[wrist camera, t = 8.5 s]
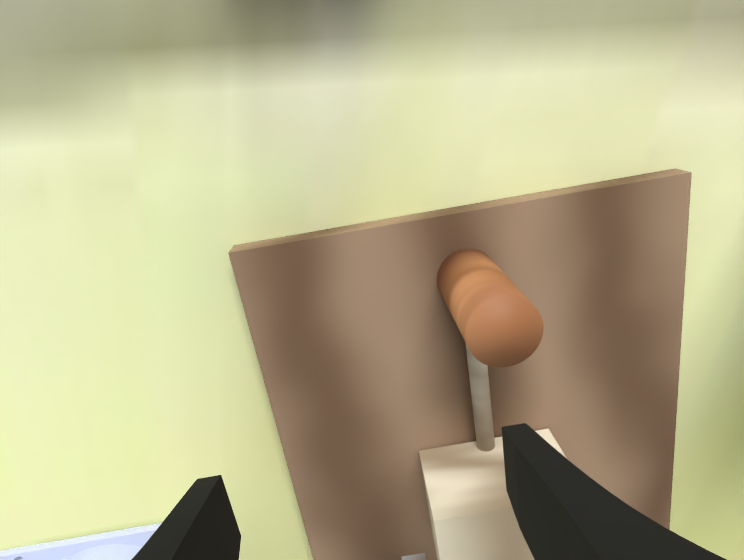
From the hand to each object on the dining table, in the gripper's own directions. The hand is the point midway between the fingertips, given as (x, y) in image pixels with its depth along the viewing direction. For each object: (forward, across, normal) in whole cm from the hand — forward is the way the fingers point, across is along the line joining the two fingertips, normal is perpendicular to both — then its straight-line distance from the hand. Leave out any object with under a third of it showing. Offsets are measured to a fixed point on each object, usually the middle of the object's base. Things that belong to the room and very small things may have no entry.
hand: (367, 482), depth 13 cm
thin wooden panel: (+10, -5, +14) cm, 17 cm away
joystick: (+8, -5, +4) cm, 11 cm away
